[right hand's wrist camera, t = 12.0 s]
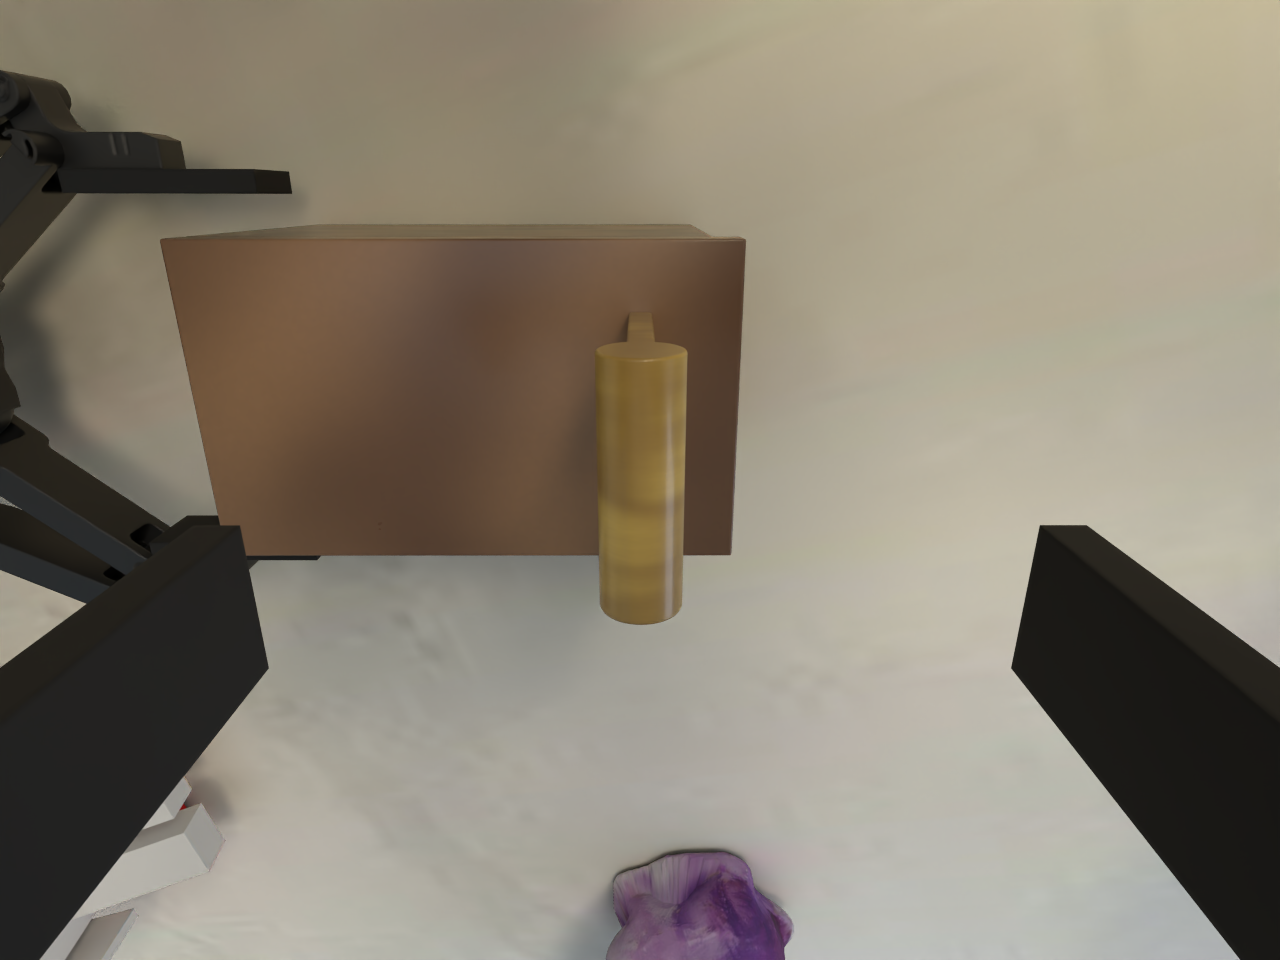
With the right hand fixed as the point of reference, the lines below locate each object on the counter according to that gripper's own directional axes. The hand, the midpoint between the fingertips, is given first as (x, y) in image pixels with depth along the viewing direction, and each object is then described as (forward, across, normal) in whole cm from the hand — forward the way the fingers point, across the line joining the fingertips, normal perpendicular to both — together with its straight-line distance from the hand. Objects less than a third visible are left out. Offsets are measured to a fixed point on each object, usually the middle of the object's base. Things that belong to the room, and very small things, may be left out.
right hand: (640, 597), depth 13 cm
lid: (+13, -5, 0) cm, 14 cm away
